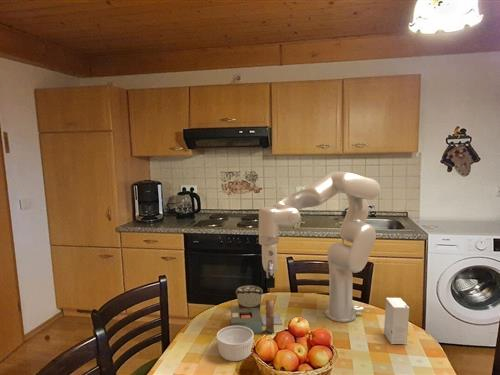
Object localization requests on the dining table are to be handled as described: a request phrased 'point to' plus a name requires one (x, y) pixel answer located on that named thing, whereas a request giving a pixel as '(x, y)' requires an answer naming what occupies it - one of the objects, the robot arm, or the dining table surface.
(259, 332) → the switch box
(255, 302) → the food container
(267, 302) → the brown upright bar
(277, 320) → the rest mat
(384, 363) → the dining table surface
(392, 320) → the skincare box
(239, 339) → the ramekin
